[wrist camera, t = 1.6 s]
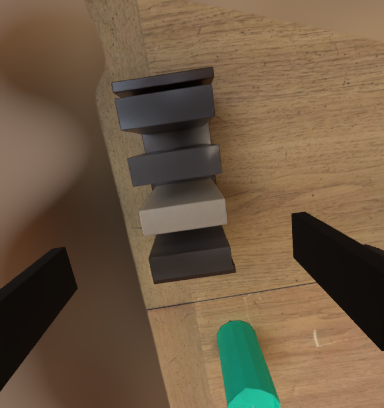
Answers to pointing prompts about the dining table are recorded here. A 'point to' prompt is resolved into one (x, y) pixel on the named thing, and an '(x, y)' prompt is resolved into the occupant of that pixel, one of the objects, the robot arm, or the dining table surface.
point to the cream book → (183, 207)
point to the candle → (245, 368)
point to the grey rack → (176, 163)
